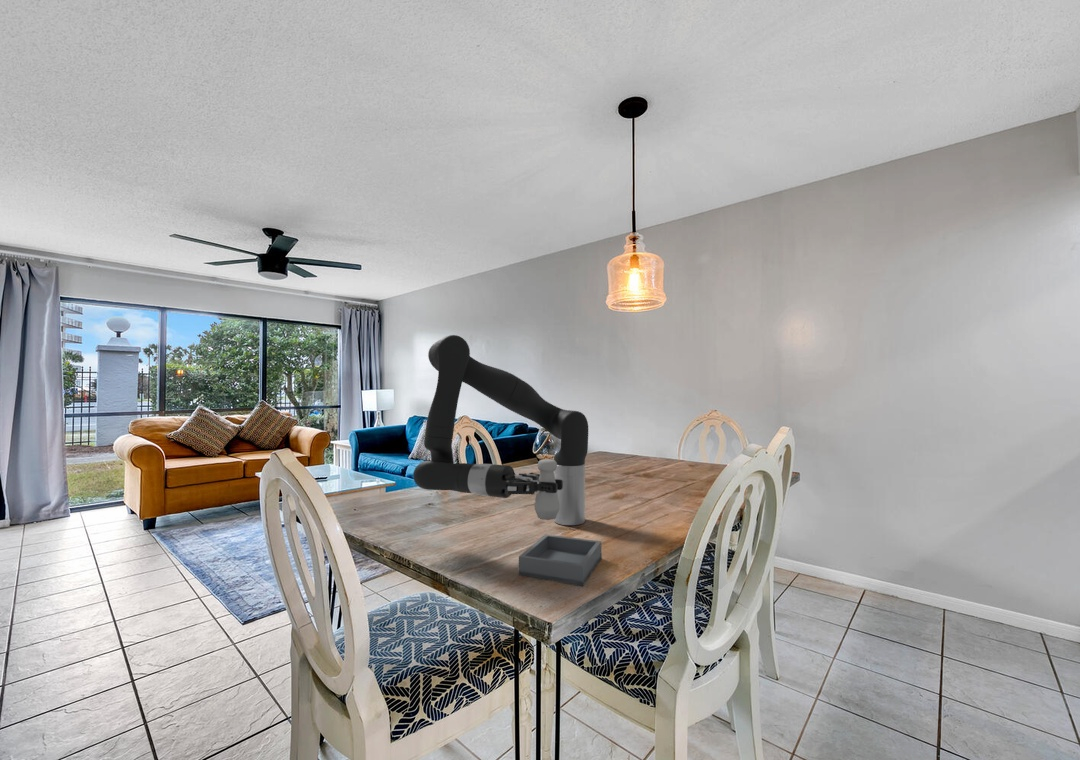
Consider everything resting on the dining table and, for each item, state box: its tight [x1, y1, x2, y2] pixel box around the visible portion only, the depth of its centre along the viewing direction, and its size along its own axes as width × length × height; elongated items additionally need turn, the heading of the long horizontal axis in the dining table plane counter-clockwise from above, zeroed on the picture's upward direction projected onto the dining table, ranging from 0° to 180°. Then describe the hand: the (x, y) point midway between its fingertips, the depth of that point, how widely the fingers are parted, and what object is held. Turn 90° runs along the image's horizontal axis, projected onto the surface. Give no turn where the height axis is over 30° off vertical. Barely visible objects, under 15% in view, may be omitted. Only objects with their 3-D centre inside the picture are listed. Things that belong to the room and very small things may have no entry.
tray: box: [518, 533, 602, 587], centre depth 100 cm, size 16×14×4 cm
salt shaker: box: [533, 458, 560, 521], centre depth 102 cm, size 6×6×13 cm
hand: (559, 486), depth 101 cm, fingers closed on salt shaker, 3 cm apart
